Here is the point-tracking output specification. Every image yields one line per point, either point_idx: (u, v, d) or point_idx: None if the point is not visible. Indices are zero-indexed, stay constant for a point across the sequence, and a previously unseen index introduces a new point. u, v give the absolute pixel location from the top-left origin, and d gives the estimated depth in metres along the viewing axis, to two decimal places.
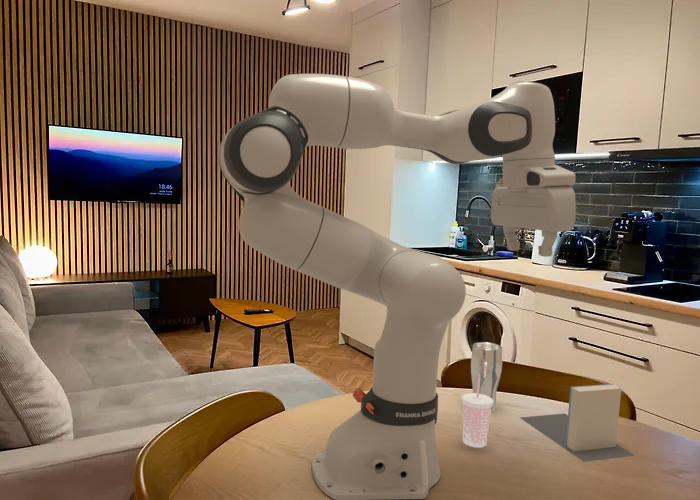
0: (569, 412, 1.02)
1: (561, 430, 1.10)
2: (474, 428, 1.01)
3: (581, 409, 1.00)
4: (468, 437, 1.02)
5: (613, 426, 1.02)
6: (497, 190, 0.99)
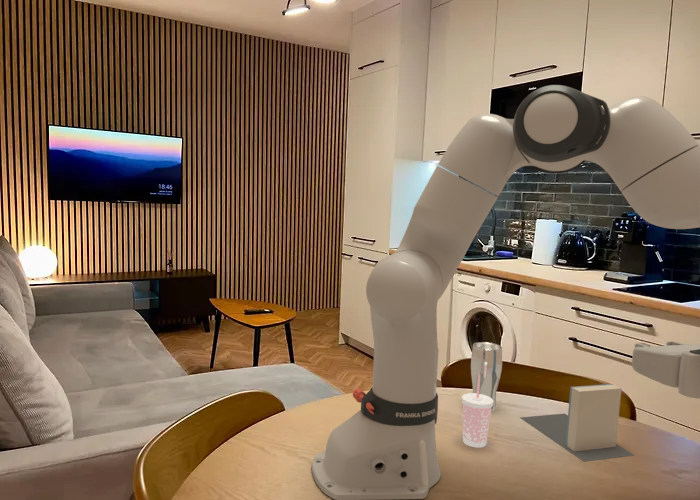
0: (569, 412, 1.02)
1: (561, 430, 1.10)
2: (474, 428, 1.01)
3: (581, 409, 1.00)
4: (468, 437, 1.02)
5: (613, 426, 1.02)
6: None
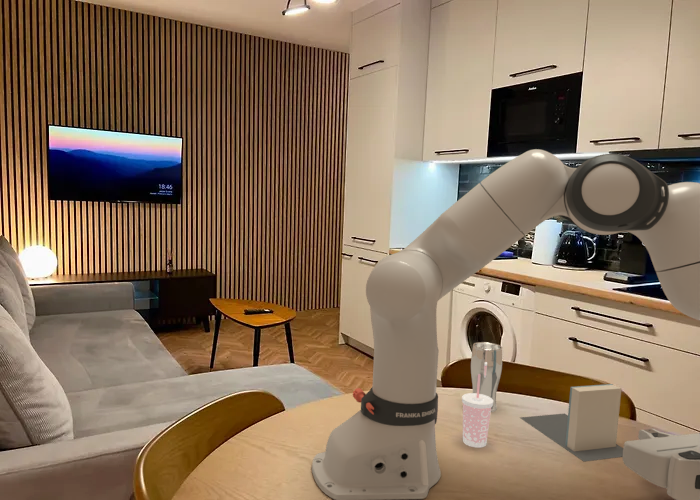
0: (569, 412, 1.02)
1: (561, 430, 1.10)
2: (474, 428, 1.01)
3: (581, 409, 1.00)
4: (468, 437, 1.02)
5: (613, 426, 1.02)
6: None
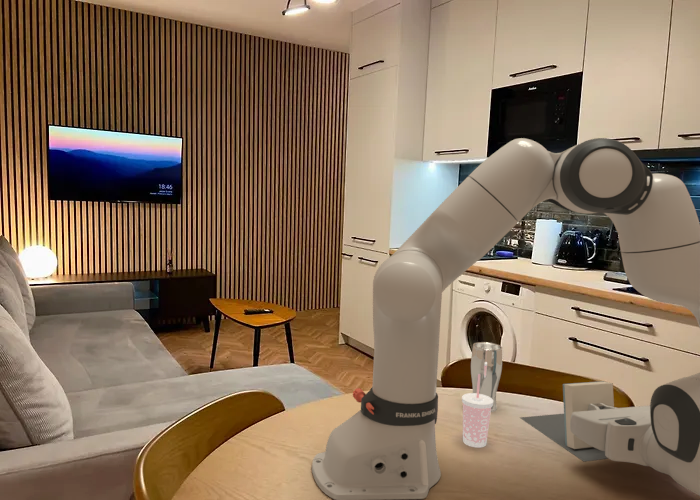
0: (565, 410, 1.03)
1: (561, 430, 1.10)
2: (474, 428, 1.01)
3: (575, 404, 1.01)
4: (468, 437, 1.02)
5: None
6: None
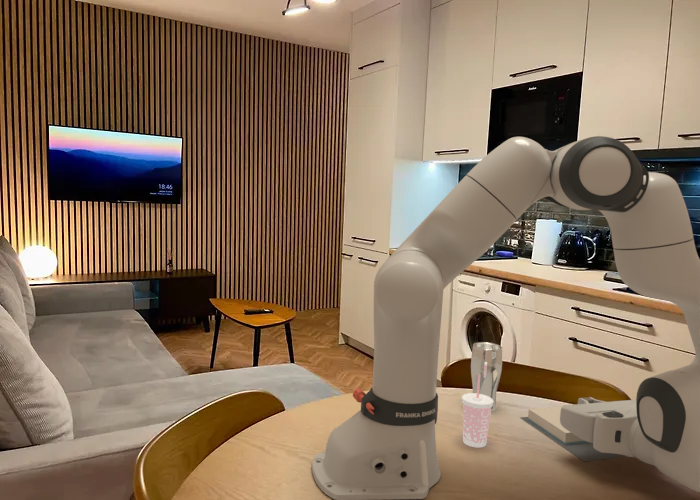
0: (542, 428, 1.09)
1: None
2: (474, 428, 1.01)
3: (542, 415, 1.11)
4: (468, 437, 1.02)
5: None
6: None
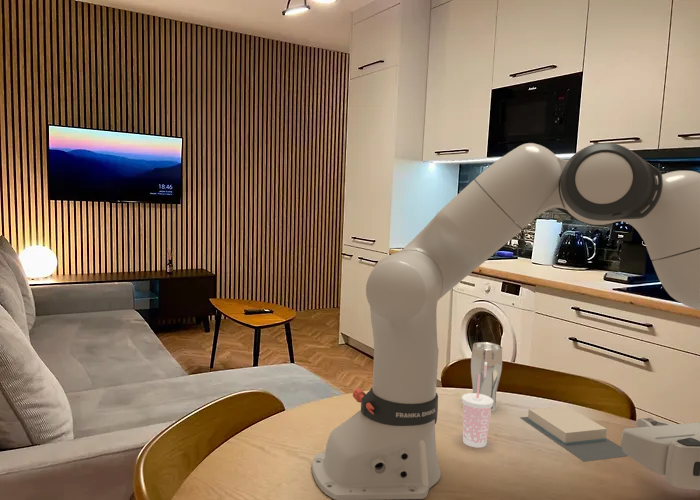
0: (542, 428, 1.09)
1: None
2: (474, 428, 1.01)
3: (542, 415, 1.11)
4: (468, 437, 1.02)
5: (587, 420, 1.09)
6: None
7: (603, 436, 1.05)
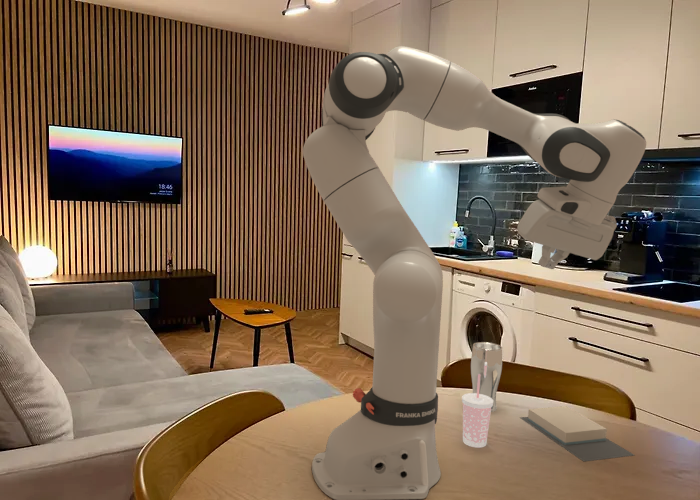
0: (542, 428, 1.09)
1: None
2: (474, 428, 1.01)
3: (542, 415, 1.11)
4: (468, 437, 1.02)
5: (587, 420, 1.09)
6: None
7: (603, 436, 1.05)
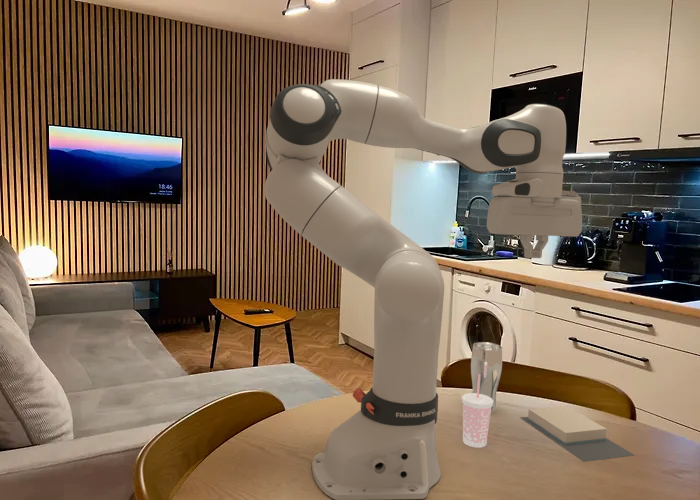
0: (542, 428, 1.09)
1: None
2: (474, 428, 1.01)
3: (542, 415, 1.11)
4: (468, 437, 1.02)
5: (587, 420, 1.09)
6: None
7: (603, 436, 1.05)
